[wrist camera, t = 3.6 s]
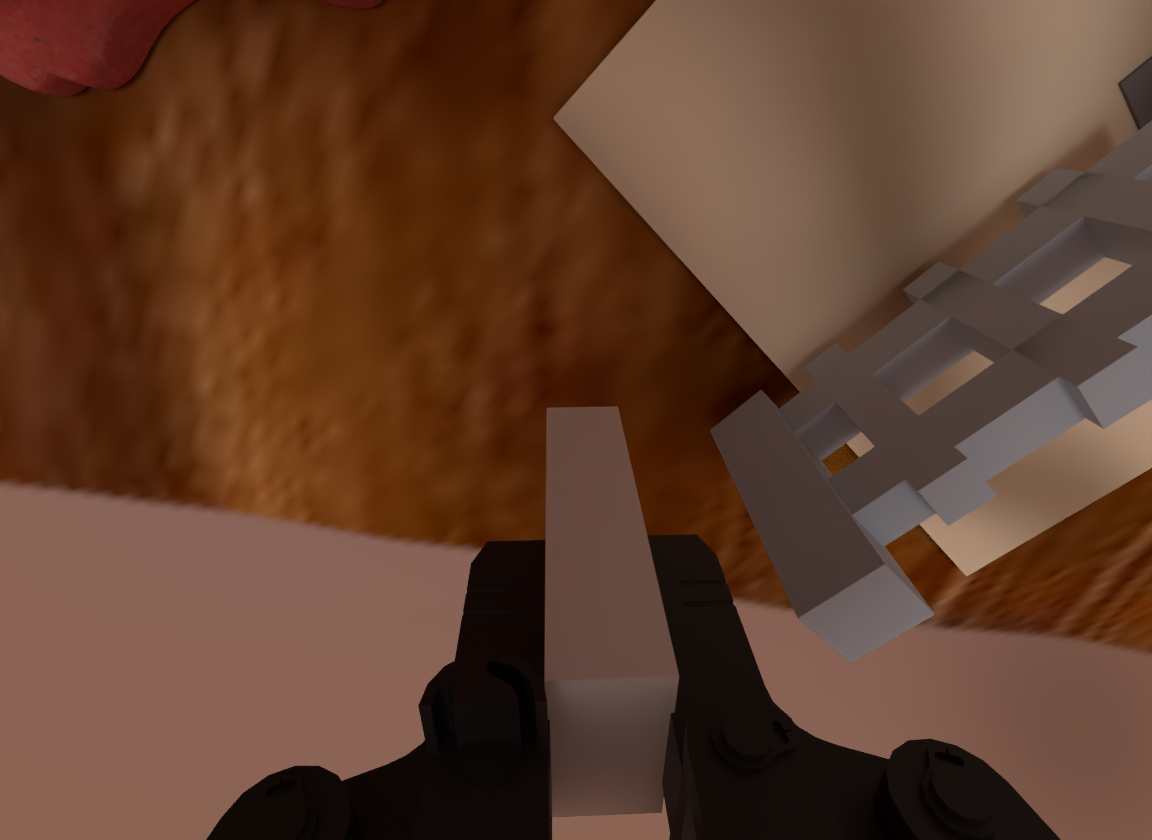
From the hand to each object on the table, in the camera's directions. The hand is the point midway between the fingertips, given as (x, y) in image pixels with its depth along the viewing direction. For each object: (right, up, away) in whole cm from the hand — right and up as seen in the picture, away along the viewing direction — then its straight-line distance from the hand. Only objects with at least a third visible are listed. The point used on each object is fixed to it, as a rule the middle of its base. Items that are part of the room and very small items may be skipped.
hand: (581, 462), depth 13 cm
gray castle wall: (+8, +4, +2) cm, 9 cm away
